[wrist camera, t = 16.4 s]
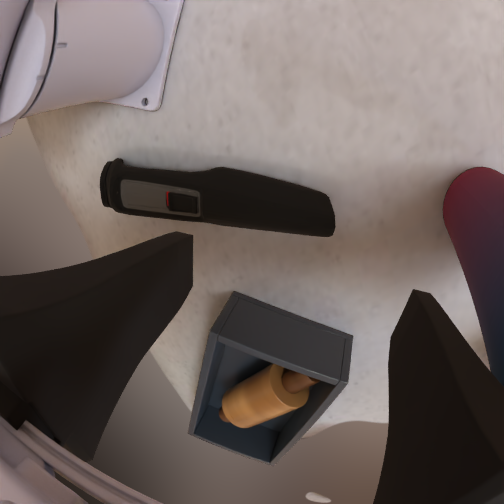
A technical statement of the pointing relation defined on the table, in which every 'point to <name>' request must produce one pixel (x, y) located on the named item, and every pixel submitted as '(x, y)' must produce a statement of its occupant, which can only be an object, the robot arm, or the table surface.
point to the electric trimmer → (217, 199)
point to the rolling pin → (265, 396)
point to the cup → (481, 251)
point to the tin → (256, 359)
